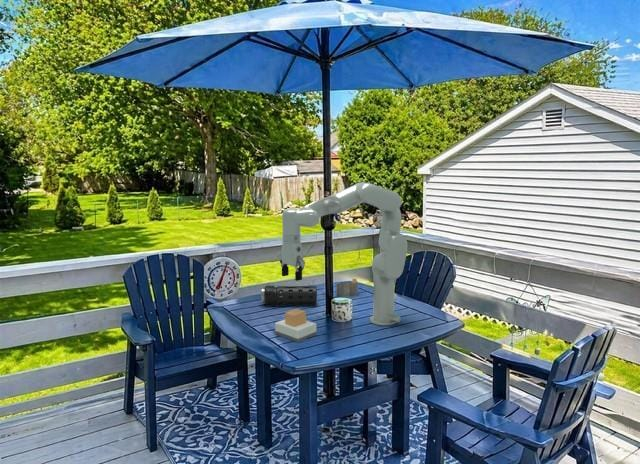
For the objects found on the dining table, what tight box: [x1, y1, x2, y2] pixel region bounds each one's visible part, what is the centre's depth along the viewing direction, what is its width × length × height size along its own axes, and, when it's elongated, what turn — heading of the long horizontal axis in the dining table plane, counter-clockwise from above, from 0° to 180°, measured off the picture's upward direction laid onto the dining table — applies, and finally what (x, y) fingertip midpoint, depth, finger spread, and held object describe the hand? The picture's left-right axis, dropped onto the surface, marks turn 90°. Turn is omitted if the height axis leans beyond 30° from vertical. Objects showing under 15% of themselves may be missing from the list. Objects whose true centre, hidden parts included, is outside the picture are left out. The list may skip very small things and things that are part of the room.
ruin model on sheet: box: [335, 278, 359, 298], centre depth 253 cm, size 11×3×10 cm, turn 96°
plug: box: [284, 308, 307, 327], centre depth 198 cm, size 6×7×8 cm
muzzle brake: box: [260, 285, 318, 306], centre depth 238 cm, size 10×28×10 cm, turn 89°
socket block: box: [274, 318, 317, 343], centre depth 199 cm, size 14×11×5 cm
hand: (291, 277), depth 198 cm, fingers open, 9 cm apart
